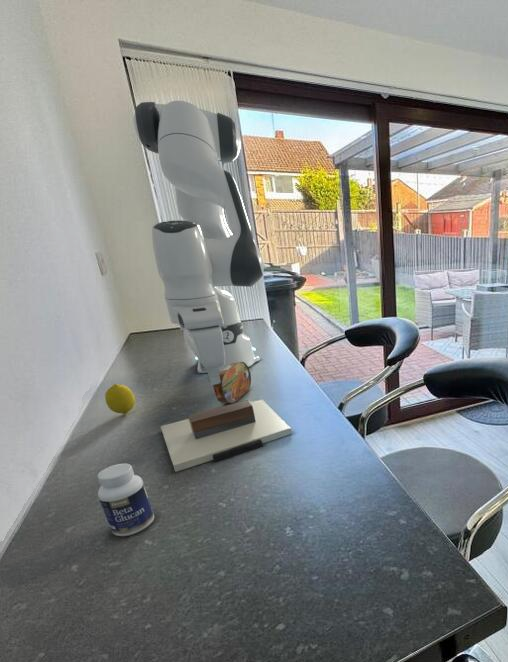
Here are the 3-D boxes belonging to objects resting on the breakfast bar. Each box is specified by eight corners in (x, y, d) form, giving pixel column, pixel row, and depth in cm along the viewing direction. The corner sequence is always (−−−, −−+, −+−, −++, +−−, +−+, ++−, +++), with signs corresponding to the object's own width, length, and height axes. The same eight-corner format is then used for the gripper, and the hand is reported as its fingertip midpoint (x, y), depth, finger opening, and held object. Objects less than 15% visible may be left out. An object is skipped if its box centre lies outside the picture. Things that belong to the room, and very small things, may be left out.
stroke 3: (245, 444, 80) (246, 446, 79) (260, 439, 82) (261, 441, 81) (246, 449, 80) (247, 451, 80) (261, 444, 82) (262, 446, 81)
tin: (228, 408, 99) (220, 377, 96) (215, 409, 99) (208, 377, 96) (254, 385, 113) (248, 357, 110) (243, 385, 113) (237, 357, 110)
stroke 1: (212, 454, 77) (213, 457, 76) (229, 449, 78) (230, 451, 77) (213, 460, 77) (214, 462, 76) (230, 454, 79) (231, 456, 78)
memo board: (162, 432, 88) (160, 426, 88) (263, 404, 101) (262, 399, 100) (175, 472, 73) (173, 465, 73) (291, 434, 86) (290, 427, 85)
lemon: (144, 409, 100) (134, 379, 97) (126, 419, 95) (116, 388, 92) (124, 409, 100) (114, 379, 97) (105, 419, 95) (94, 388, 92)
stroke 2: (229, 449, 78) (230, 451, 78) (244, 443, 80) (246, 445, 79) (230, 454, 79) (231, 456, 78) (246, 449, 80) (247, 451, 80)
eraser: (192, 432, 85) (187, 415, 83) (250, 415, 91) (247, 399, 90) (195, 439, 82) (190, 422, 80) (255, 421, 88) (252, 405, 87)
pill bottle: (119, 543, 57) (97, 487, 53) (107, 527, 60) (85, 473, 57) (161, 521, 61) (142, 468, 57) (147, 508, 64) (129, 456, 61)
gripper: (169, 304, 83) (185, 366, 88) (184, 322, 68) (202, 396, 73) (203, 300, 87) (216, 360, 92) (224, 317, 72) (239, 387, 77)
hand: (210, 376), depth 83 cm, fingers open, 8 cm apart
